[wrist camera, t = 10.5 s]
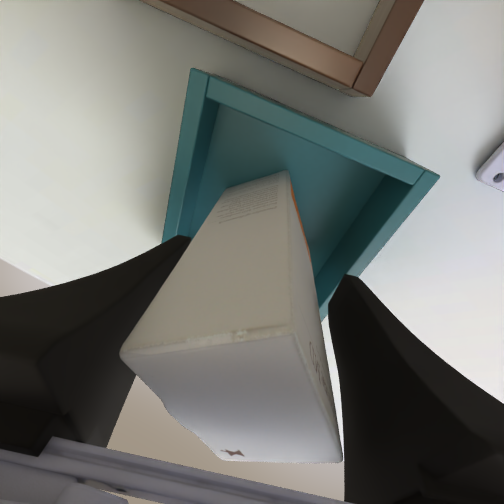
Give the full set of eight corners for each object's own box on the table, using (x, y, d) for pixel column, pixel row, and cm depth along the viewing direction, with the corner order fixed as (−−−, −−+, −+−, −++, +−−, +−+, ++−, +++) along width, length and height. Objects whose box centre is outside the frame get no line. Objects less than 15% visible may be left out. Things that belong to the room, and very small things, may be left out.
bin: (407, 158, 14) (441, 176, 11) (305, 302, 20) (308, 338, 17) (213, 73, 12) (190, 66, 9) (174, 256, 19) (154, 285, 16)
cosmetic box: (311, 249, 17) (347, 468, 7) (254, 261, 18) (216, 464, 8) (289, 164, 14) (299, 333, 4) (223, 185, 15) (104, 358, 5)
